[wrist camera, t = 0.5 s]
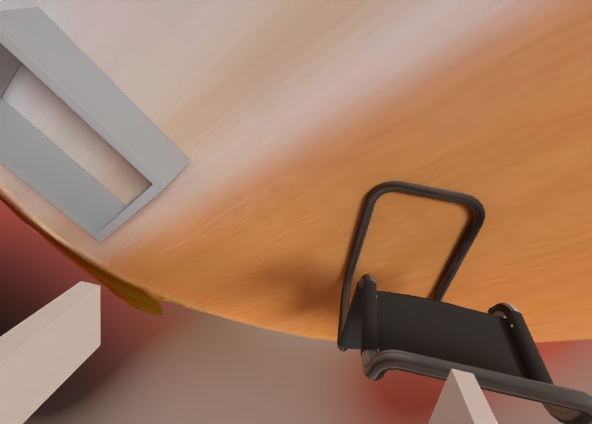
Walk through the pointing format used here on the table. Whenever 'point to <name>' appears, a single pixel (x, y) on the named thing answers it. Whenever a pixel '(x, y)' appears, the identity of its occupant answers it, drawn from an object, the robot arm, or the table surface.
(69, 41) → the well
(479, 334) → the chair
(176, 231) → the table surface
